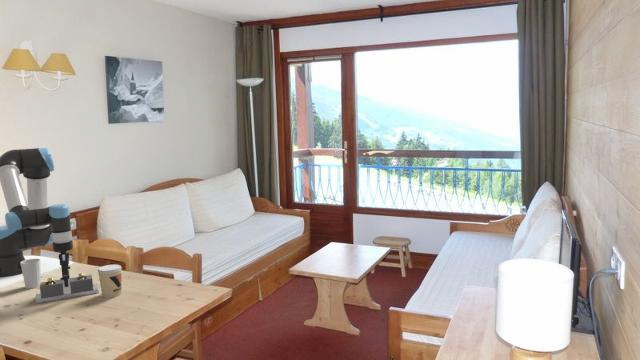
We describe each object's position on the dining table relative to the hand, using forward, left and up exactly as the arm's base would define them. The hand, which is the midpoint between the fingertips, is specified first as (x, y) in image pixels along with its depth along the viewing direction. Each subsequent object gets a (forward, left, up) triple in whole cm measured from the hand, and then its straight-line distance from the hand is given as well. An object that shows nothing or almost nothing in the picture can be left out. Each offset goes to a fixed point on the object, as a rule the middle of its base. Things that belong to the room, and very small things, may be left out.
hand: (67, 289), depth 219 cm
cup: (-22, -14, -3) cm, 26 cm away
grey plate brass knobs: (0, 0, -3) cm, 3 cm away
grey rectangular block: (0, 0, -1) cm, 1 cm away
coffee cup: (+9, +17, -3) cm, 20 cm away
